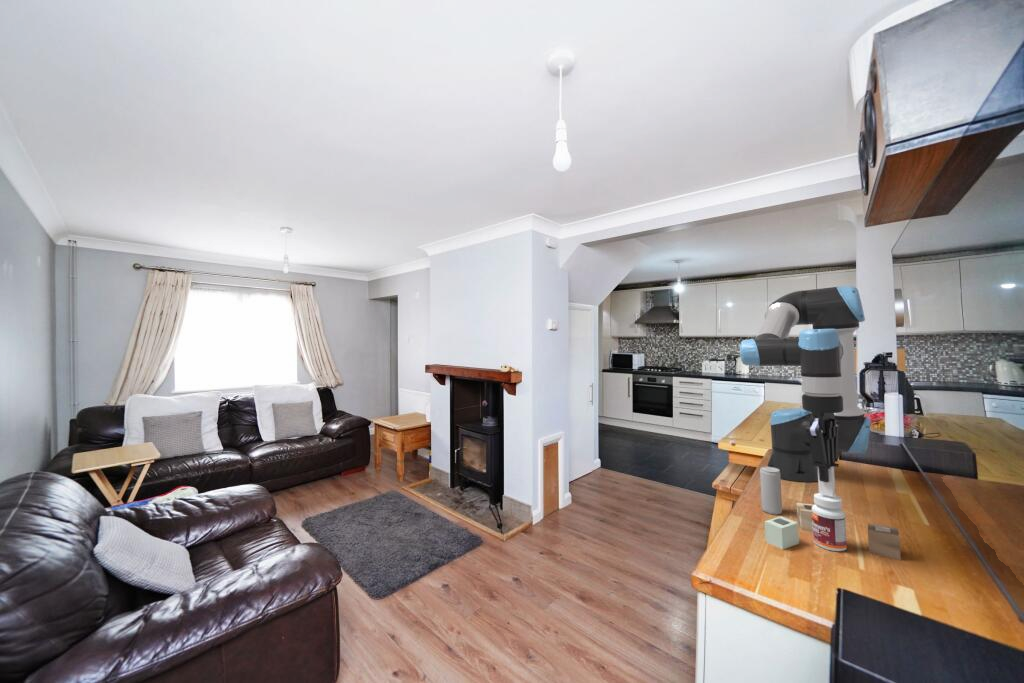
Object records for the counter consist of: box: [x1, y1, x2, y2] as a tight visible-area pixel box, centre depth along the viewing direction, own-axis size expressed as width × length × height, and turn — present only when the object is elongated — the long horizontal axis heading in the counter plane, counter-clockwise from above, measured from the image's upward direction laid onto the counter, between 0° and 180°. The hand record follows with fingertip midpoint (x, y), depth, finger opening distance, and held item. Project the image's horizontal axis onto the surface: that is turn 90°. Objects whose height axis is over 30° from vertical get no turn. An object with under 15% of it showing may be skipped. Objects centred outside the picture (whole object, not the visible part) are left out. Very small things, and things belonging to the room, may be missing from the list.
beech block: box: [796, 502, 814, 532], centre depth 99 cm, size 5×5×5 cm
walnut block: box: [867, 522, 902, 561], centre depth 86 cm, size 5×5×5 cm
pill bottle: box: [811, 492, 848, 552], centre depth 90 cm, size 6×6×11 cm
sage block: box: [764, 515, 800, 550], centre depth 92 cm, size 6×4×5 cm, turn 112°
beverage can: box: [759, 466, 783, 516], centre depth 108 cm, size 5×5×12 cm
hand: (827, 494), depth 90 cm, fingers closed
